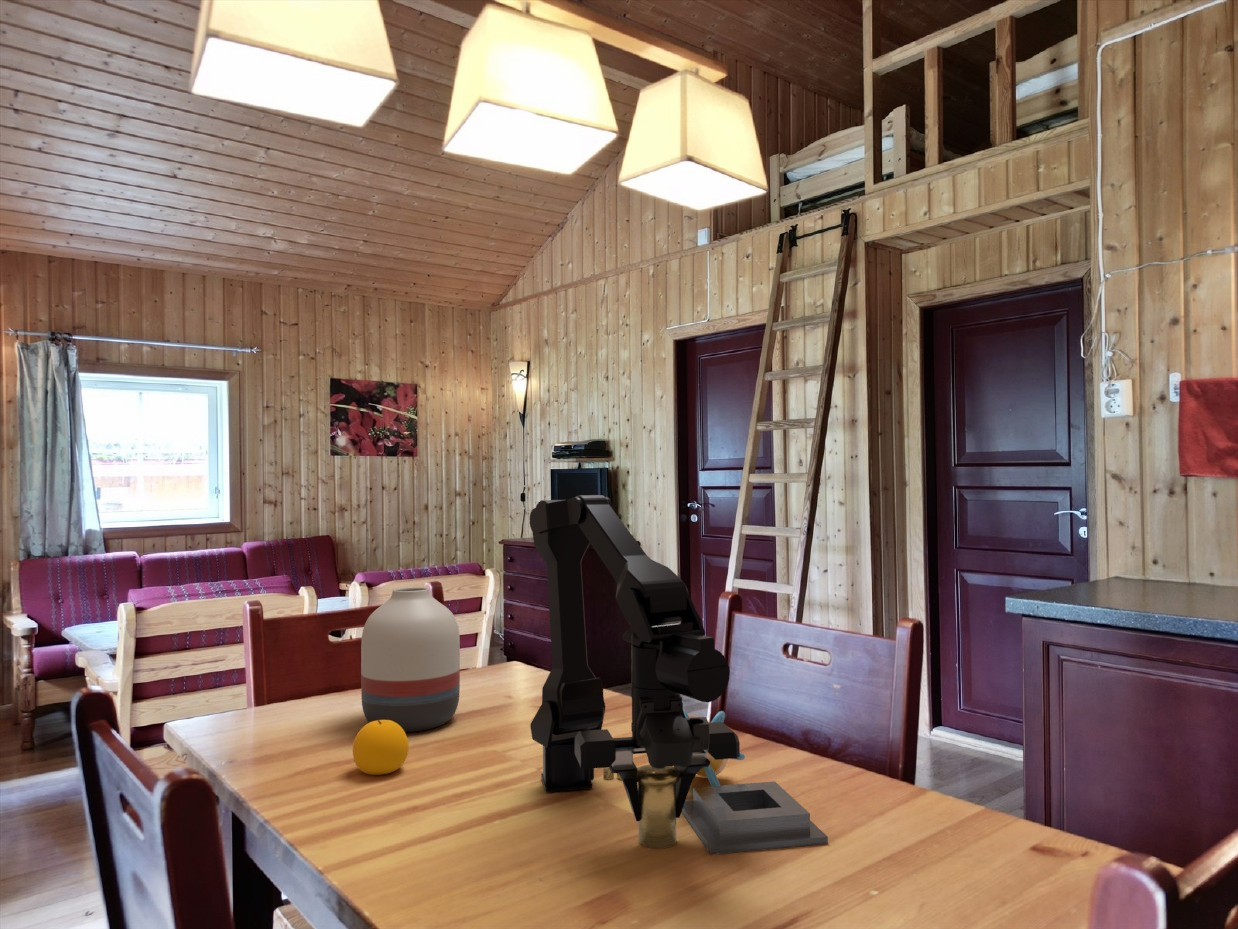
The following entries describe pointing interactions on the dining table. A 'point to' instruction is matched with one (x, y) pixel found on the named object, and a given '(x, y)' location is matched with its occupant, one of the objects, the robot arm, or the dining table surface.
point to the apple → (380, 747)
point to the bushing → (657, 806)
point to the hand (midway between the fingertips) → (657, 818)
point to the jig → (750, 818)
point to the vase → (410, 661)
